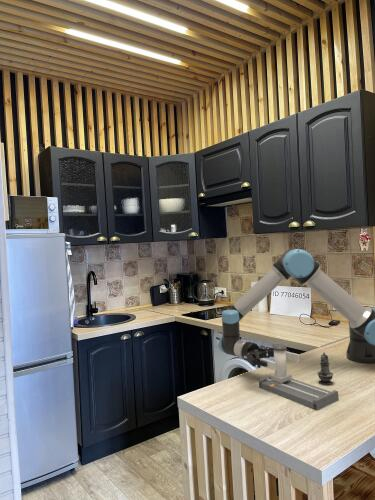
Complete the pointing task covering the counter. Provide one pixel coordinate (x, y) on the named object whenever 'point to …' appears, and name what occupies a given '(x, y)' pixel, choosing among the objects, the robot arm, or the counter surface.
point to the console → (300, 392)
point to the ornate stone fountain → (325, 371)
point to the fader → (280, 364)
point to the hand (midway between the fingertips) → (287, 362)
